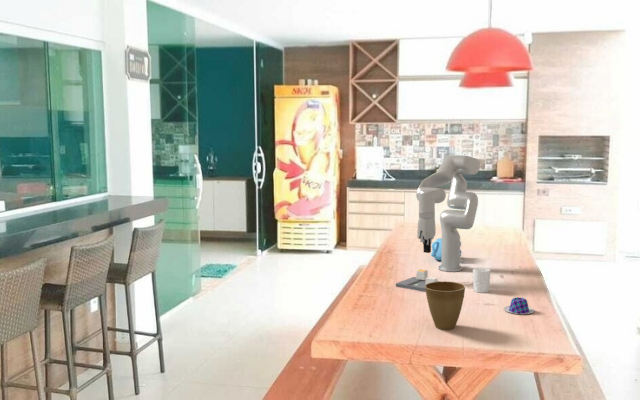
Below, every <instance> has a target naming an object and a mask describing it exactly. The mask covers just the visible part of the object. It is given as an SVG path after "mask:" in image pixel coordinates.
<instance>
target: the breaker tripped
mask: <svg viewBox="0 0 640 400" xmlns="http://www.w3.org/2000/svg"><path fill="white" fill-rule="evenodd" d="M428 273H429V272H428V270H427V269H417V270H416V276H415V277H416V279H420V280H426V278H428V277H429V276H428Z"/></svg>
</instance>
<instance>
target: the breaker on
mask: <svg viewBox="0 0 640 400" xmlns="http://www.w3.org/2000/svg"><path fill="white" fill-rule="evenodd" d="M437 281H438V278H437V277H431V276H428V278H426V284H428V283H432V282H437Z"/></svg>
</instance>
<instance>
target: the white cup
mask: <svg viewBox="0 0 640 400" xmlns="http://www.w3.org/2000/svg"><path fill="white" fill-rule="evenodd" d="M490 282H491V269H489V268H487V267H475V268H472V284H473V291H474V292H475V293H481V294H483V293H489V291H490V285H491V283H490Z"/></svg>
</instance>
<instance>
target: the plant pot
mask: <svg viewBox="0 0 640 400" xmlns="http://www.w3.org/2000/svg"><path fill="white" fill-rule="evenodd" d="M440 281H441V280H440ZM425 290H426V292H425V295H426V301H427V305H428V309H429V312H430V316H431V318H432V321H433V324H434V326H435V328H437V329H438V330H443V331H445V330H447V331H449V330H452V329H455V328H456V326H457V323H458V320H459V318H460V314H461V311H462V307H463V304H464V298H465V291H466V286H465V284H463V283H460V282H456V281H455V282H454V281H441V282H432V283H428V284H426V285H425Z"/></svg>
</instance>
